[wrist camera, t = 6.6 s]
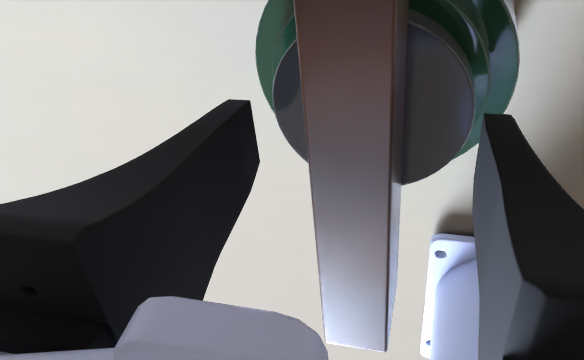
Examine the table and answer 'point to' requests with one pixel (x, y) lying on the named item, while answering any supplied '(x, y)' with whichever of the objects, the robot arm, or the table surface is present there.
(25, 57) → the table surface
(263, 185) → the table surface
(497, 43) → the green round jar
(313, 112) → the stick
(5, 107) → the table surface
